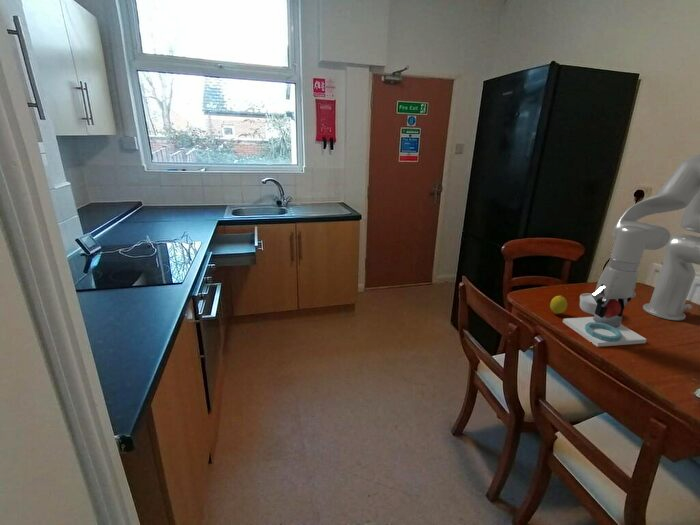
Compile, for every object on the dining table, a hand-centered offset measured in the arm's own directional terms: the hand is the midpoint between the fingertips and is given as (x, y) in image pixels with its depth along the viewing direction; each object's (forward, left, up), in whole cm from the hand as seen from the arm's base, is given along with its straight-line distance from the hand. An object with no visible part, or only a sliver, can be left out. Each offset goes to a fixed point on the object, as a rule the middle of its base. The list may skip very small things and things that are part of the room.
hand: (607, 314), depth 114 cm
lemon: (+4, -17, -9) cm, 20 cm away
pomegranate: (0, 0, -1) cm, 1 cm away
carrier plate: (-3, -3, -9) cm, 10 cm away
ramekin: (-13, -18, -9) cm, 24 cm away
